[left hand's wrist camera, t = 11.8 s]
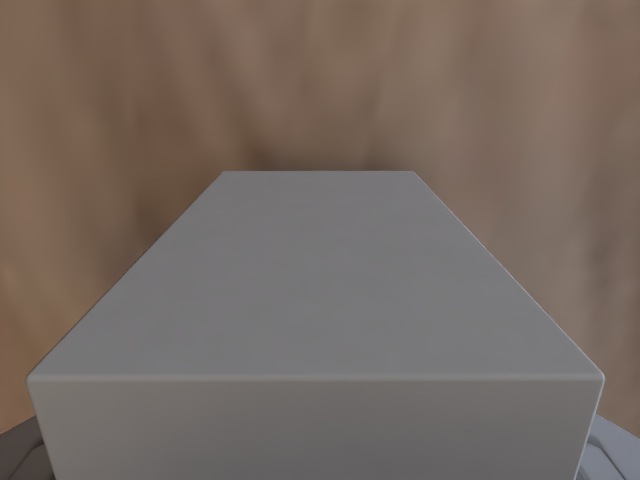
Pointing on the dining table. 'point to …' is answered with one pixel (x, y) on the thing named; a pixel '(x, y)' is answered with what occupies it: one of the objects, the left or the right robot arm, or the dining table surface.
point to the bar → (316, 348)
